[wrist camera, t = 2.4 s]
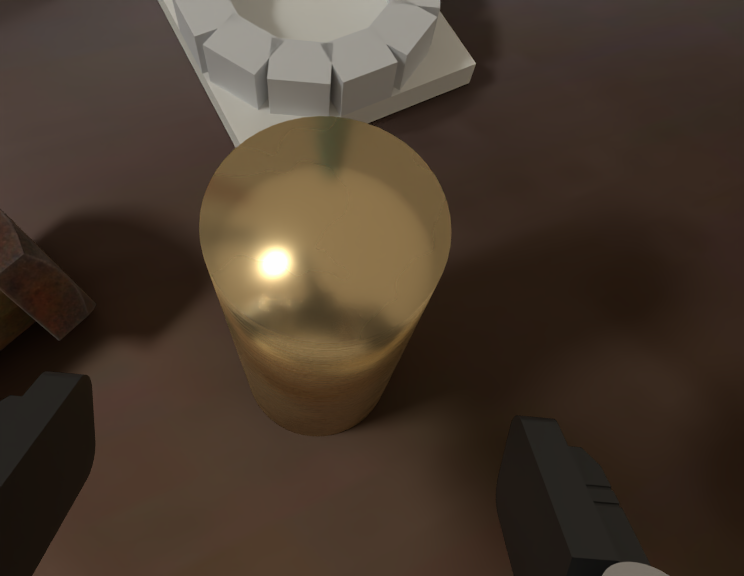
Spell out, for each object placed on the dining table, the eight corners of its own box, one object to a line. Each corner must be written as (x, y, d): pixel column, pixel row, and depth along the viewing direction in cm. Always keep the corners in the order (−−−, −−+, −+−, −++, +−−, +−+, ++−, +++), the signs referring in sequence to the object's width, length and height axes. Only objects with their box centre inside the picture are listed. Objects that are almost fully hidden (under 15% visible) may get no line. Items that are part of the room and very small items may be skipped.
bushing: (284, 462, 22) (265, 388, 11) (224, 335, 23) (159, 168, 13) (412, 396, 23) (498, 275, 13) (348, 279, 24) (378, 84, 14)
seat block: (248, 170, 25) (240, 121, 22) (149, -16, 28) (130, -83, 25) (469, 82, 28) (488, 27, 25) (358, -82, 31) (363, -149, 28)
